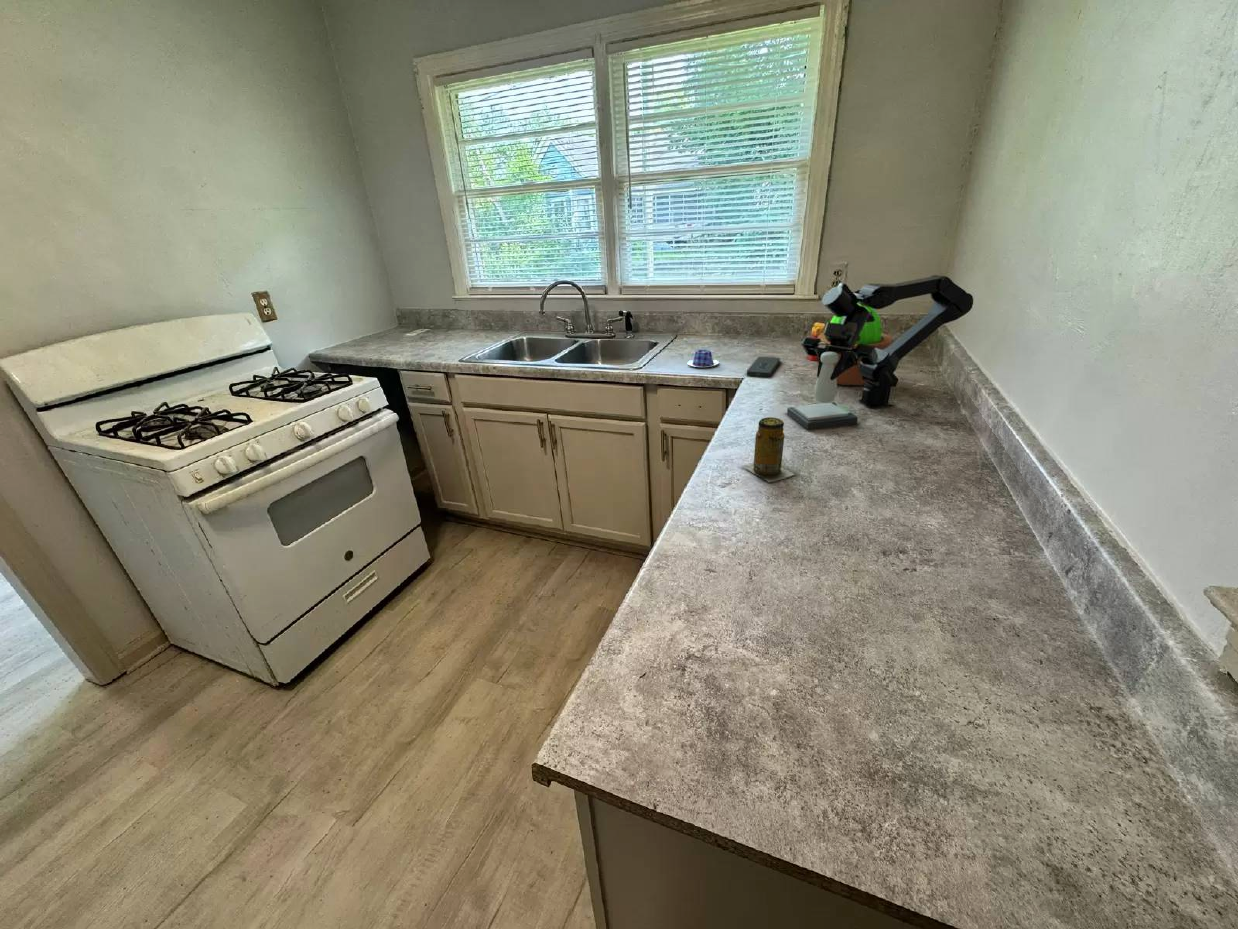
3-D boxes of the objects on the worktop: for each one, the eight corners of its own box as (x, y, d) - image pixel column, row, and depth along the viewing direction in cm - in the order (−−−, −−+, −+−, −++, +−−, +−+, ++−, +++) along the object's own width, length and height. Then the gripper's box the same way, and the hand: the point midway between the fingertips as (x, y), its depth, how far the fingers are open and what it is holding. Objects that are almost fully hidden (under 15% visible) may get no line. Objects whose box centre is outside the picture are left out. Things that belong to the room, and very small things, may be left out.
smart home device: (746, 370, 174) (758, 356, 190) (745, 375, 175) (758, 360, 191) (769, 372, 171) (780, 357, 186) (769, 377, 171) (780, 361, 187)
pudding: (723, 361, 192) (724, 348, 189) (711, 370, 183) (711, 356, 181) (695, 359, 198) (695, 346, 196) (682, 367, 189) (682, 353, 187)
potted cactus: (811, 386, 161) (820, 306, 149) (814, 367, 178) (823, 295, 167) (886, 390, 153) (902, 307, 141) (882, 370, 171) (896, 294, 159)
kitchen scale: (832, 408, 142) (834, 399, 141) (856, 424, 132) (858, 414, 130) (786, 414, 141) (787, 404, 140) (807, 430, 130) (808, 420, 129)
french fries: (808, 354, 193) (812, 321, 187) (819, 355, 192) (824, 321, 186) (809, 361, 186) (813, 326, 180) (821, 361, 184) (825, 326, 178)
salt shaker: (837, 404, 130) (844, 355, 124) (814, 404, 131) (820, 356, 125) (833, 396, 135) (839, 349, 129) (811, 396, 136) (816, 350, 130)
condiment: (768, 460, 116) (773, 413, 111) (795, 475, 109) (800, 425, 104) (744, 468, 113) (747, 420, 108) (769, 483, 107) (773, 432, 101)
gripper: (808, 306, 131) (782, 356, 130) (880, 312, 118) (852, 368, 117) (820, 330, 139) (796, 377, 138) (889, 338, 126) (862, 391, 125)
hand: (824, 378), depth 129 cm, fingers closed on salt shaker, 3 cm apart
